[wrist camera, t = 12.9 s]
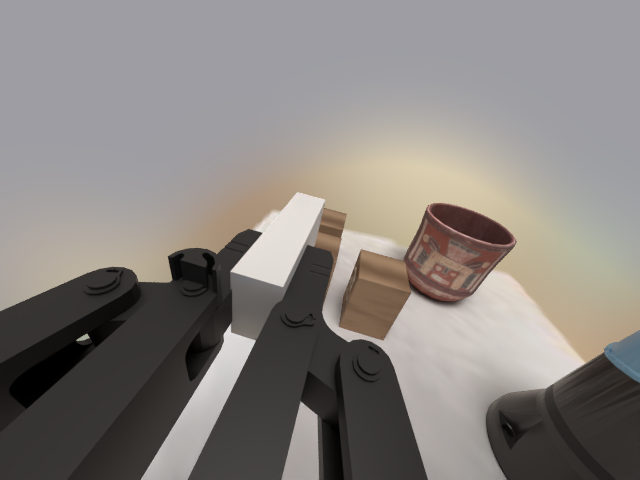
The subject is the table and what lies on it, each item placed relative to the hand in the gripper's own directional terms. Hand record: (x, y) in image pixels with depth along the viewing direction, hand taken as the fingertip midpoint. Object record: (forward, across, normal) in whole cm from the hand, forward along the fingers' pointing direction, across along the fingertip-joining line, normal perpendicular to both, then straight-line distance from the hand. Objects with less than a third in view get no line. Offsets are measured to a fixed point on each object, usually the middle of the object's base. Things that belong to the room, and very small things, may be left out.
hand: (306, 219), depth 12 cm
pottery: (+37, +28, -28) cm, 54 cm away
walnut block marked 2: (+20, +11, -28) cm, 36 cm away
